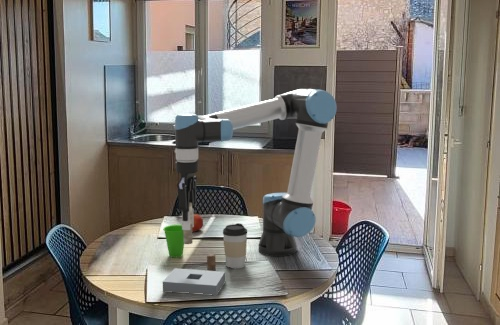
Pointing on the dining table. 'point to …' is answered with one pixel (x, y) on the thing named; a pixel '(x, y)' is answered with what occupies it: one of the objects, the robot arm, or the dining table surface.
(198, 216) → the tomato
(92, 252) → the dining table surface
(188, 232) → the long pin
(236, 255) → the coffee cup
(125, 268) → the dining table surface
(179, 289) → the grey block with hole
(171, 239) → the cup
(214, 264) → the short pin
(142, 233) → the dining table surface
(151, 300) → the dining table surface
